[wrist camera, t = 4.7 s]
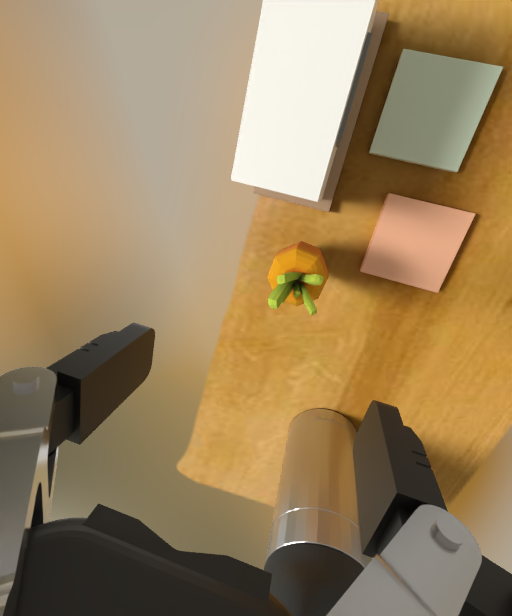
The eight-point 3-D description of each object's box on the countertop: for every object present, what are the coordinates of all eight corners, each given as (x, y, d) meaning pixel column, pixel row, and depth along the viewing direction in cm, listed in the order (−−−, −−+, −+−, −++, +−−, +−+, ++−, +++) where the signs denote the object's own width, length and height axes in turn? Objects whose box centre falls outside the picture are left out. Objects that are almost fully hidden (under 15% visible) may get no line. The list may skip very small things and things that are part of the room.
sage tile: (453, 172, 29) (457, 172, 28) (368, 153, 30) (369, 152, 29) (497, 71, 26) (503, 66, 25) (401, 53, 27) (403, 48, 26)
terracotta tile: (434, 290, 33) (437, 292, 32) (359, 269, 34) (360, 271, 33) (471, 213, 30) (475, 213, 29) (387, 193, 31) (389, 193, 30)
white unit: (328, 211, 33) (327, 221, 21) (256, 193, 34) (214, 191, 22) (386, 20, 27) (433, -124, 15) (296, 5, 28) (269, -143, 16)
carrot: (329, 231, 33) (329, 257, 20) (328, 277, 35) (326, 330, 21) (283, 232, 34) (252, 257, 21) (283, 276, 36) (255, 326, 22)
